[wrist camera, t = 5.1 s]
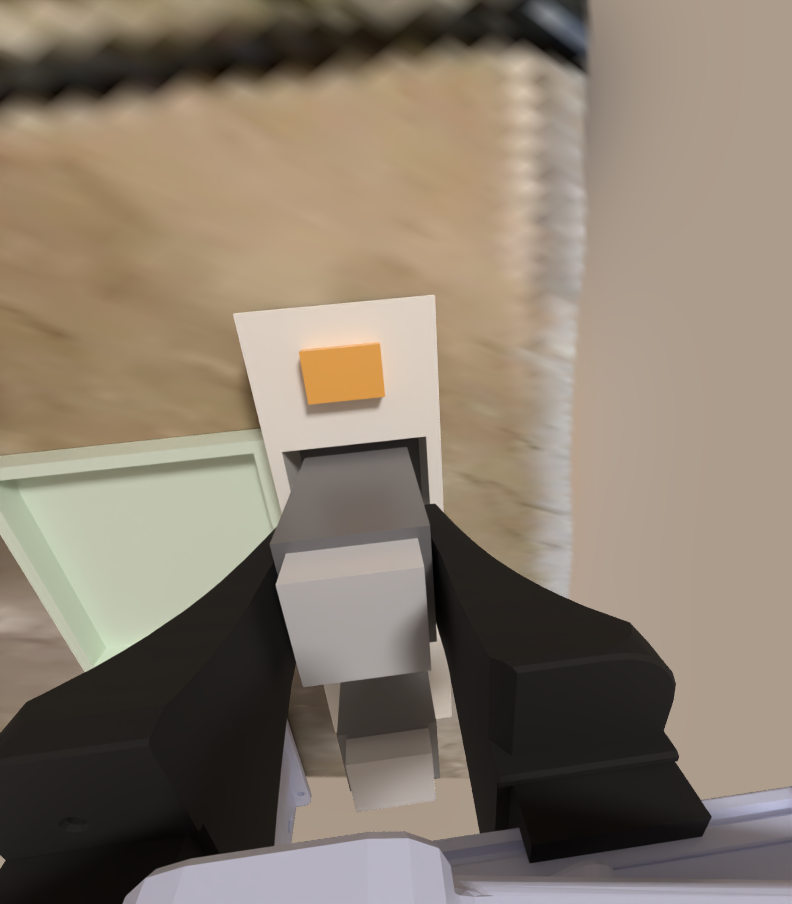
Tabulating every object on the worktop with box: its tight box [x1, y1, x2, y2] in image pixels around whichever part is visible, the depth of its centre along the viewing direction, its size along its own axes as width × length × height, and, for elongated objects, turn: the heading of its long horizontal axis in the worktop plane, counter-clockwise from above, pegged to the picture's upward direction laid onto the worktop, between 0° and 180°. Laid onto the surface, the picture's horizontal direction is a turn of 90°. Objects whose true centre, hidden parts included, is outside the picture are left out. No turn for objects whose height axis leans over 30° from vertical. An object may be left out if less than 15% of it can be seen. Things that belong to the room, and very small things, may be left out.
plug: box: [270, 447, 437, 687], centre depth 11 cm, size 4×4×6 cm
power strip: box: [233, 295, 452, 812], centre depth 14 cm, size 20×6×7 cm, turn 5°
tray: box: [0, 428, 282, 672], centre depth 16 cm, size 11×11×2 cm
